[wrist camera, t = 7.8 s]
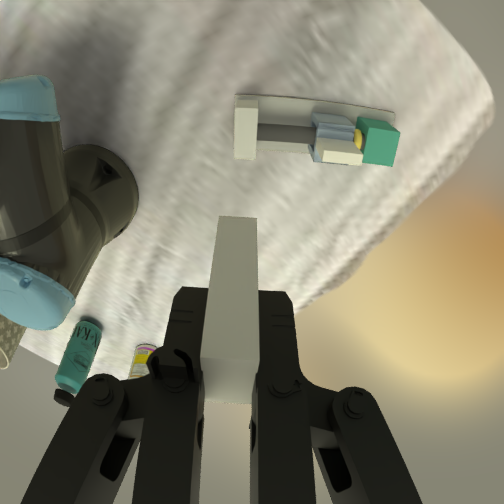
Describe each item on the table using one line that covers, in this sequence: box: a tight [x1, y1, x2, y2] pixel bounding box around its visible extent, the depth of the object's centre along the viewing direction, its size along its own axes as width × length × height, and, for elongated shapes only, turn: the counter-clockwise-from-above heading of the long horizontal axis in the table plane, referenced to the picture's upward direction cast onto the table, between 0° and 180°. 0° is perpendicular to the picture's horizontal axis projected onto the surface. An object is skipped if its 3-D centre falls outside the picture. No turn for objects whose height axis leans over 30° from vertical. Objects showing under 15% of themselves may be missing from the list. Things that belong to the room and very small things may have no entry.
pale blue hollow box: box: [308, 112, 363, 166], centre depth 33 cm, size 4×5×9 cm
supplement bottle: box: [128, 345, 157, 379], centre depth 63 cm, size 7×7×13 cm
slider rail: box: [233, 95, 400, 167], centre depth 35 cm, size 20×7×5 cm, turn 87°
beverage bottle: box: [54, 321, 102, 407], centre depth 55 cm, size 6×7×20 cm
